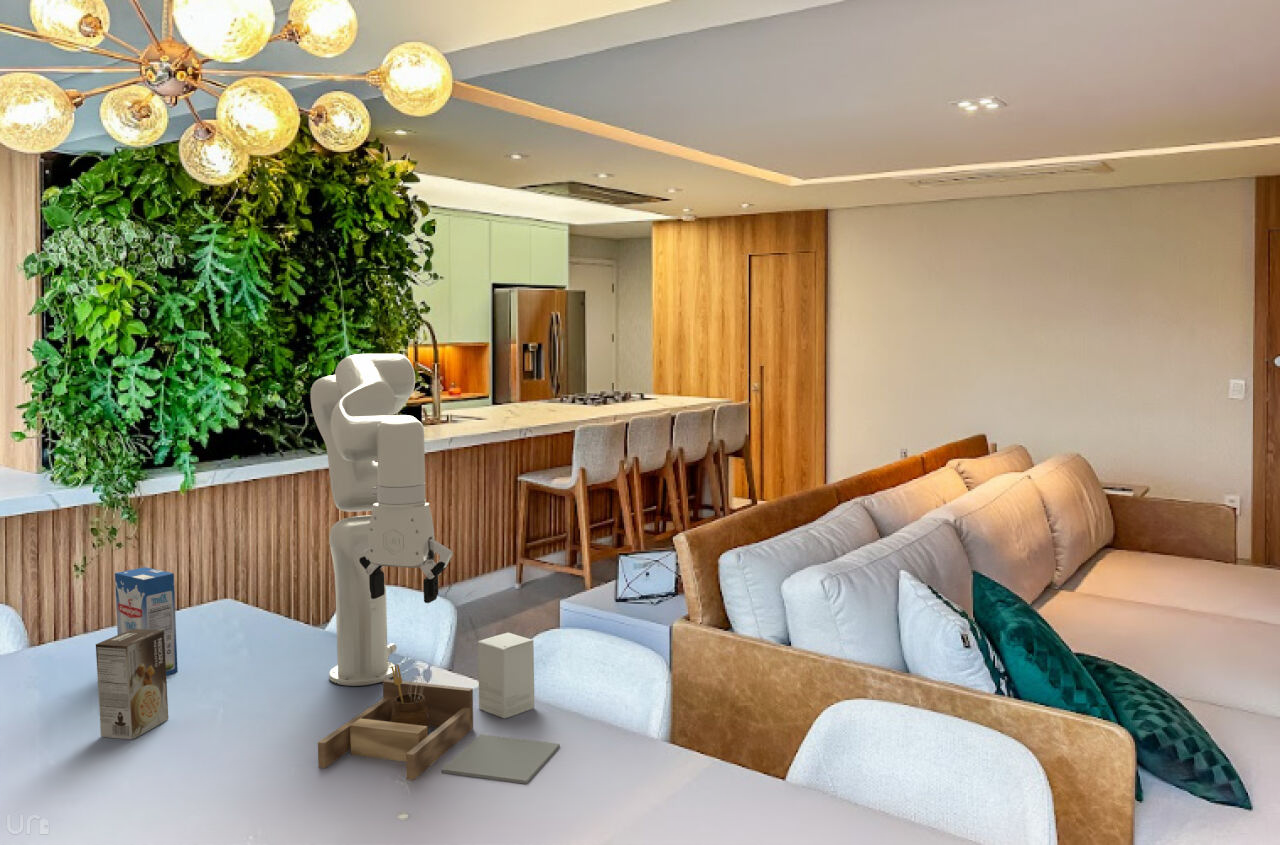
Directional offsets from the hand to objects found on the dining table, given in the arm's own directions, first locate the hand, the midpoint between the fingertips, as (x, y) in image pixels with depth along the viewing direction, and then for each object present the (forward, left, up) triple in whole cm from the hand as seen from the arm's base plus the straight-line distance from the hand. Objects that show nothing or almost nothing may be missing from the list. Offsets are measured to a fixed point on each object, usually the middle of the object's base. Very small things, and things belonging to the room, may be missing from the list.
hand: (403, 599), depth 162 cm
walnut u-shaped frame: (+4, 0, -24) cm, 24 cm away
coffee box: (+9, -47, -24) cm, 53 cm away
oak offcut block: (+6, 0, -24) cm, 25 cm away
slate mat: (+3, +18, -24) cm, 30 cm away
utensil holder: (0, 0, -24) cm, 24 cm away
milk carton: (-15, -66, -24) cm, 71 cm away
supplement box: (-17, +10, -24) cm, 31 cm away
